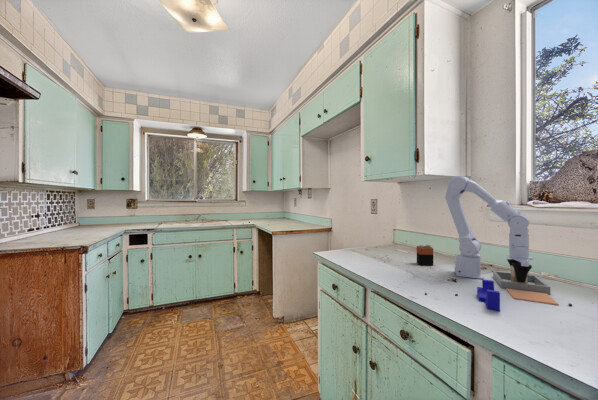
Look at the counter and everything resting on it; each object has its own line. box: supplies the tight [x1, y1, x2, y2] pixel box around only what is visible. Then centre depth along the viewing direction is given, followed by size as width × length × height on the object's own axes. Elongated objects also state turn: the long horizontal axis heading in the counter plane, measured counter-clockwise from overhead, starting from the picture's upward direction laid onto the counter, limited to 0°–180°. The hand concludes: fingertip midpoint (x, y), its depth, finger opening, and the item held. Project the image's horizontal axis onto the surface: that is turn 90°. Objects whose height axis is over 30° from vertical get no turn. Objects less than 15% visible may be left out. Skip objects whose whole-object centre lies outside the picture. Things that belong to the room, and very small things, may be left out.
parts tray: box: [492, 270, 551, 295], centre depth 94 cm, size 14×14×2 cm
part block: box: [510, 265, 529, 284], centre depth 94 cm, size 4×4×7 cm
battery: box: [416, 244, 434, 267], centre depth 123 cm, size 4×7×10 cm, turn 83°
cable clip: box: [476, 278, 501, 312], centre depth 80 cm, size 12×4×6 cm, turn 149°
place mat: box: [505, 288, 560, 306], centre depth 83 cm, size 11×9×1 cm
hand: (518, 279), depth 94 cm, fingers closed on part block, 4 cm apart
